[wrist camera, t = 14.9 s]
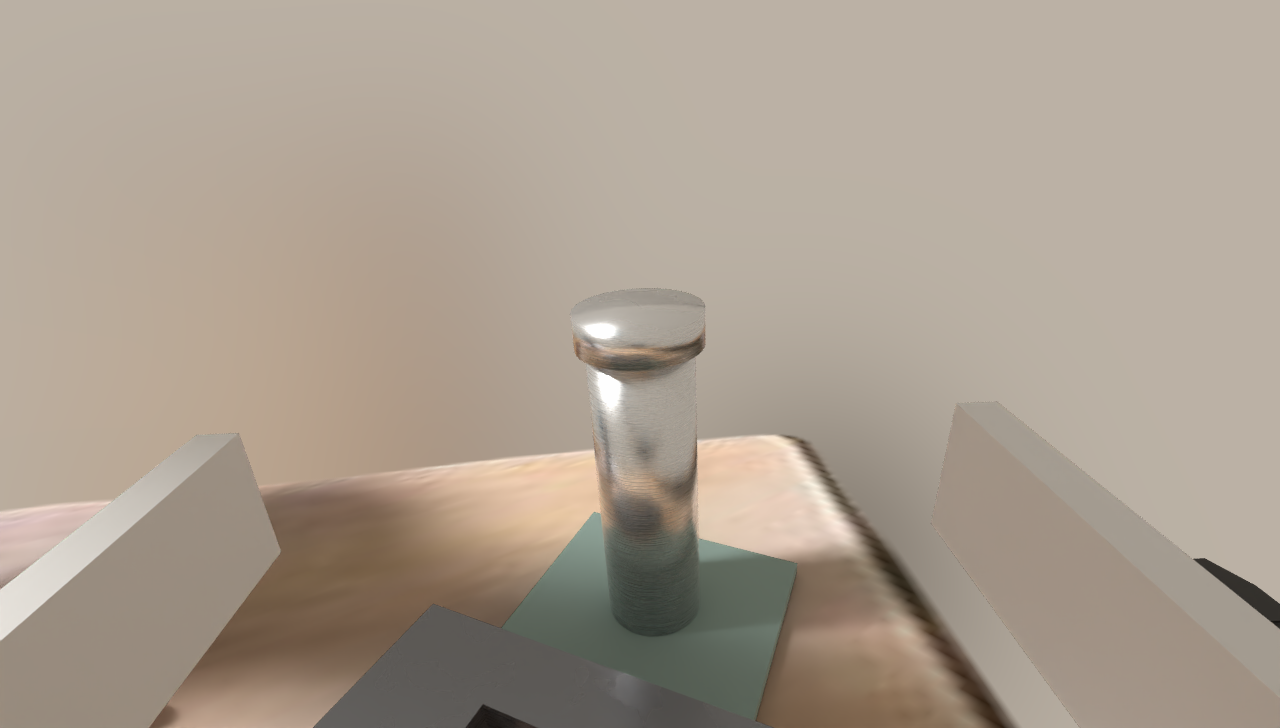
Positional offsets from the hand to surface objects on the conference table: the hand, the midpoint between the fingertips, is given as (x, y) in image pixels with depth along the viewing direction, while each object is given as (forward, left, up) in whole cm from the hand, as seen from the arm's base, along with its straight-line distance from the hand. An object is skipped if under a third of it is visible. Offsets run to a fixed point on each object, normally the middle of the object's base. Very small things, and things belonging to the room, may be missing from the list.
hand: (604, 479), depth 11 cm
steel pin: (-4, +12, -16) cm, 20 cm away
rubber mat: (-4, +12, -16) cm, 21 cm away
